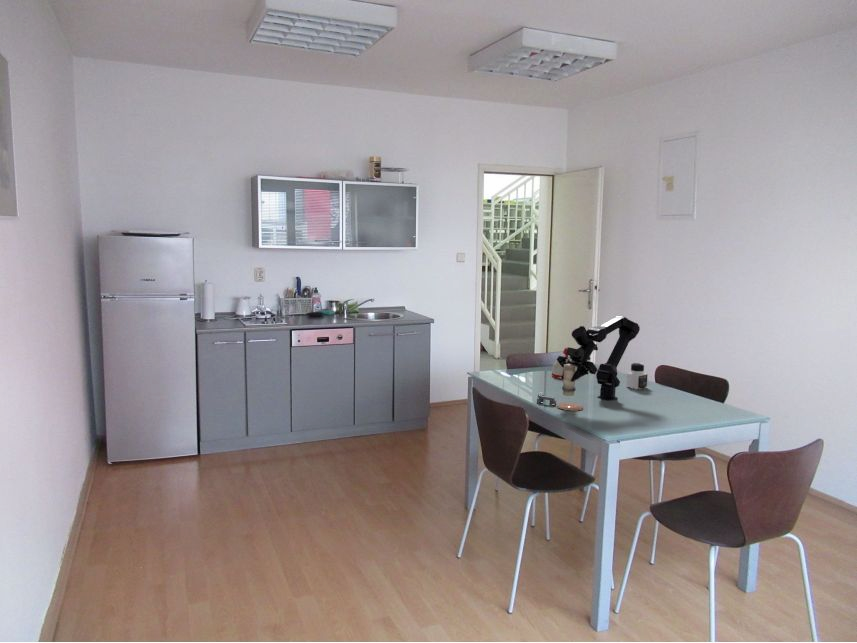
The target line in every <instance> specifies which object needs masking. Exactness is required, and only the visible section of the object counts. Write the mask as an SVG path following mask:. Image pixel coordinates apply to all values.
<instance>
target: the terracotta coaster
mask: <svg viewBox="0 0 857 643" xmlns="http://www.w3.org/2000/svg"><path fill="white" fill-rule="evenodd" d="M557 407H559V408H561V409H564V410H563V411H565V410H570V411H569V412H578V410H580V411H582V410H583V409H584V406H583V405H581V404H578V403H573V402H563V403H561V402H560V403H558V404H556V408H557ZM559 408H558V409H559ZM561 409H560V410H561Z"/></svg>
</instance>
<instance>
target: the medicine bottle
mask: <svg viewBox="0 0 857 643" xmlns="http://www.w3.org/2000/svg"><path fill="white" fill-rule="evenodd" d="M644 370H645V364H643V363H641V362H635V363H631V364H630V372H627V373H626V384H625V386H626V388H628V387H630V388H629V389H633V388H634V389H633V390H637V389H639V390H643V389H642V388H644V389H646V387H648V376H649V374H648V373H645V371H644Z"/></svg>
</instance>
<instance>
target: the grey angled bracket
mask: <svg viewBox="0 0 857 643" xmlns="http://www.w3.org/2000/svg"><path fill="white" fill-rule="evenodd" d="M544 400H546V401H549V405H550V404H556V405H557V400H556V399H555V397H553V396H545V394H543V391H539V393H537V398H536V403H537V402H538V403H537V404H540V403H541V402H543V403H544ZM541 404H542V403H541Z"/></svg>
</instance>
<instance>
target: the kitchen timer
mask: <svg viewBox="0 0 857 643" xmlns="http://www.w3.org/2000/svg"><path fill="white" fill-rule="evenodd" d="M566 350H567V347H564V349H563V351H562V353H563V354H560V356H565V357H567V358H568V359H569V360H570V361H572V359H570V356H569V355H566ZM551 368H552V369H551V376H552V375H553V376H555V377H561V378H562V374H563V367H562V366H561V365H560V364H559V362H558V361H557V359H556V360H555V361H554V362H553V364H552V367H551ZM576 370H577V367H576V366H575V372H576ZM553 376H552V377H553ZM555 377H554V378H555ZM561 378H560V379H561Z"/></svg>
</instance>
